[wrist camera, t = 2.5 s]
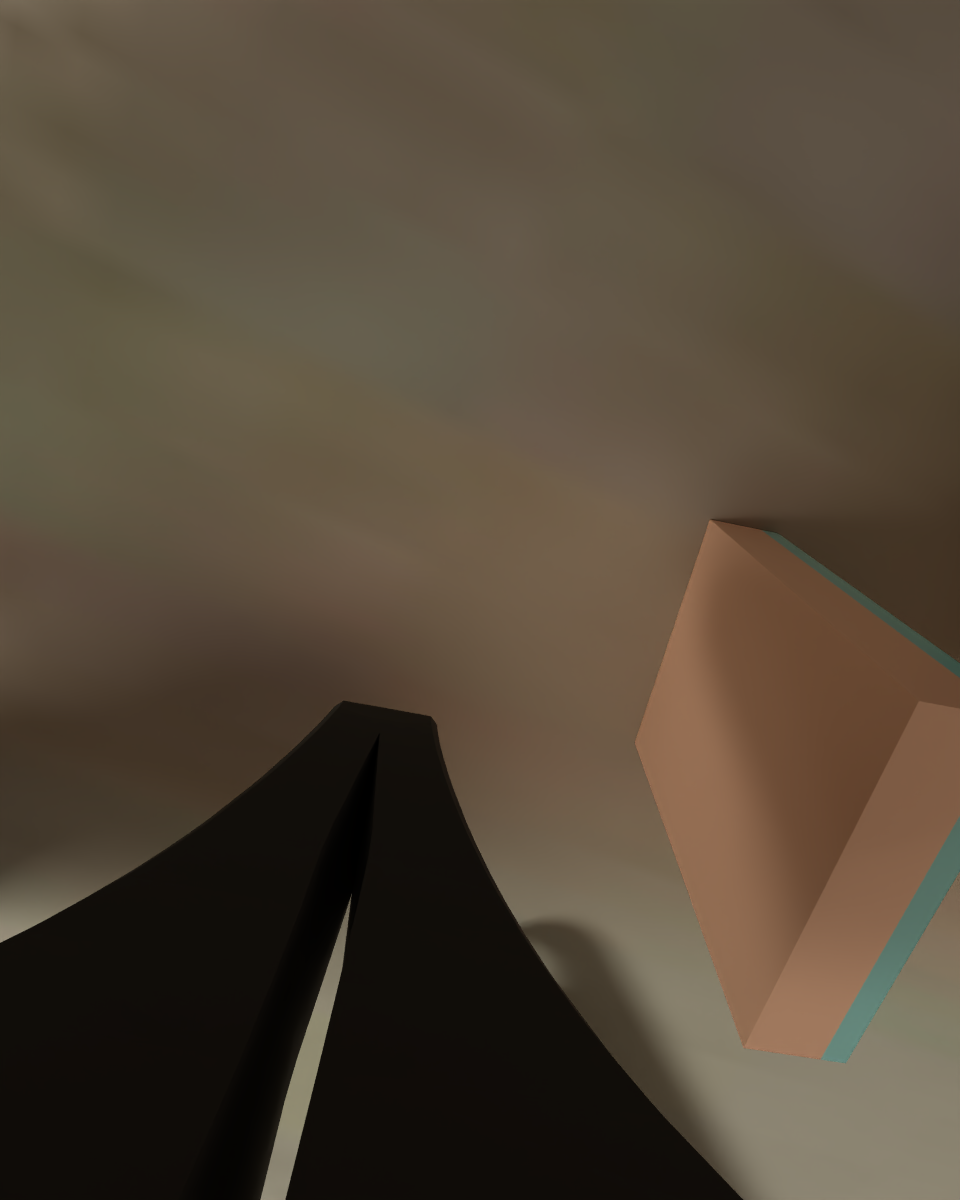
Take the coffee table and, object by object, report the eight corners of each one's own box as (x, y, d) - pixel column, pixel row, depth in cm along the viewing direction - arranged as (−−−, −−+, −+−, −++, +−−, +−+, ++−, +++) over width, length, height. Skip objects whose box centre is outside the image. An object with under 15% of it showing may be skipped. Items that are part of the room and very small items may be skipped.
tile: (634, 742, 18) (743, 1047, 10) (709, 519, 15) (918, 701, 8) (694, 753, 18) (845, 1063, 10) (777, 533, 16) (1047, 725, 8)
